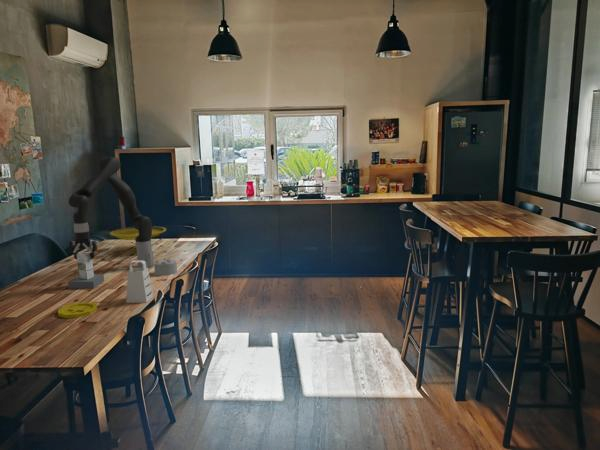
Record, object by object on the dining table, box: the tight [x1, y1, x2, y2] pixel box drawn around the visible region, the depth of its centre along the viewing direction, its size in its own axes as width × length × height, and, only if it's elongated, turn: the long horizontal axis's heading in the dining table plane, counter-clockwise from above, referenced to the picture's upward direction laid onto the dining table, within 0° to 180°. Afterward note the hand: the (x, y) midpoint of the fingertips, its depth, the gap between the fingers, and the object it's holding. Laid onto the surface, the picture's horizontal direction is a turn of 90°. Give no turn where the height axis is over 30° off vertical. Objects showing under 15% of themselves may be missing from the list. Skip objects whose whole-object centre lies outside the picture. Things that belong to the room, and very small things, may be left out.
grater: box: [125, 259, 154, 304], centre depth 240 cm, size 10×10×20 cm
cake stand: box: [109, 225, 167, 254], centre depth 348 cm, size 40×40×15 cm
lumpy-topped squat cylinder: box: [153, 257, 178, 277], centre depth 288 cm, size 10×13×9 cm
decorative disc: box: [57, 301, 98, 319], centre depth 224 cm, size 17×18×2 cm
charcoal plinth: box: [67, 273, 105, 290], centre depth 267 cm, size 14×14×4 cm
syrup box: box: [76, 251, 95, 279], centre depth 265 cm, size 6×6×14 cm
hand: (84, 258), depth 264 cm, fingers open, 8 cm apart
